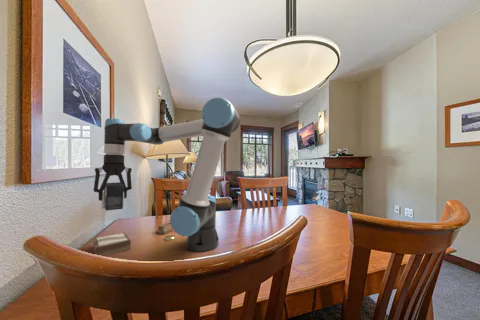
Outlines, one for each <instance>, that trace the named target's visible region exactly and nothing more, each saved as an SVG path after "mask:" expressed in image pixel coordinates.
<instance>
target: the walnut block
mask: <svg viewBox="0 0 480 320" xmlns="http://www.w3.org/2000/svg"><path fill="white" fill-rule="evenodd" d="M157 226H158V227H157V233H158V234H161V235H165V236H166V235H168V234H170V233H172V232H173V227H172V226H171V223H163V224H159V225H157Z"/></svg>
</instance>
